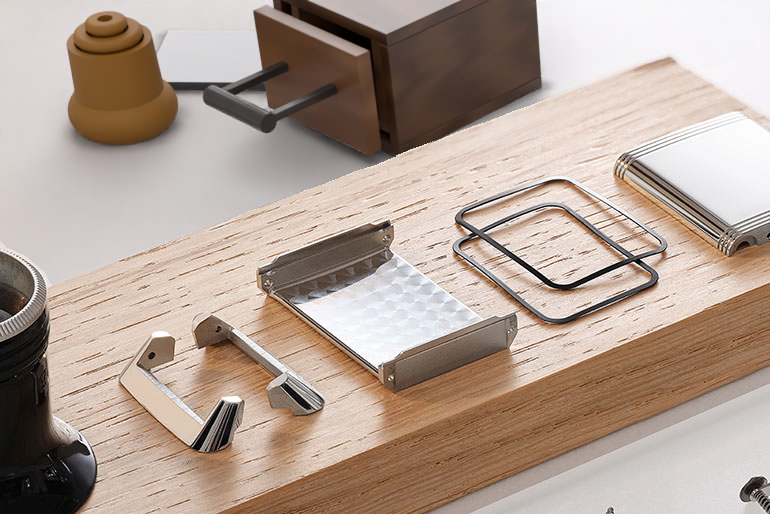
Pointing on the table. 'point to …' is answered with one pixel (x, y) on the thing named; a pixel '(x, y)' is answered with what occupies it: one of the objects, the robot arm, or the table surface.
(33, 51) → the table surface
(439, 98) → the cabinet
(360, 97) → the drawer
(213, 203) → the table surface
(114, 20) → the ornamental finial
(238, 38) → the coaster
